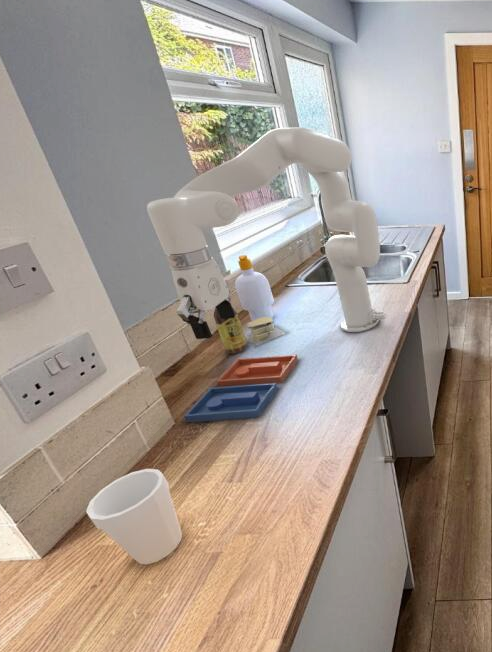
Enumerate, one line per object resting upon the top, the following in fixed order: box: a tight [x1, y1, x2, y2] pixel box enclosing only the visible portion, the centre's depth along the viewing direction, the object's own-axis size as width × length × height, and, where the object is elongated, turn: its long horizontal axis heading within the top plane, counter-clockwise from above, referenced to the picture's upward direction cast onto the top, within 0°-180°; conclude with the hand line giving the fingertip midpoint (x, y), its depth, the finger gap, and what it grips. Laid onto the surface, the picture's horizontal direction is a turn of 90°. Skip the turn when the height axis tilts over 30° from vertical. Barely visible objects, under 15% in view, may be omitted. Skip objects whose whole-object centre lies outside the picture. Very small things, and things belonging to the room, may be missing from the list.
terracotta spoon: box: [235, 362, 282, 378], centre depth 115 cm, size 12×4×2 cm, turn 93°
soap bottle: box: [234, 254, 275, 322], centre depth 143 cm, size 10×10×24 cm
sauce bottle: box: [213, 306, 248, 355], centre depth 125 cm, size 7×6×20 cm
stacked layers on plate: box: [245, 317, 286, 347], centre depth 135 cm, size 10×9×6 cm
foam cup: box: [85, 468, 183, 565], centre depth 66 cm, size 10×9×13 cm
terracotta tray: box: [216, 354, 299, 387], centre depth 115 cm, size 17×11×2 cm, turn 93°
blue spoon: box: [207, 392, 260, 410], centre depth 102 cm, size 12×4×2 cm, turn 93°
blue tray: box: [183, 383, 279, 424], centre depth 103 cm, size 17×11×2 cm, turn 93°
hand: (217, 327), depth 94 cm, fingers open, 9 cm apart
